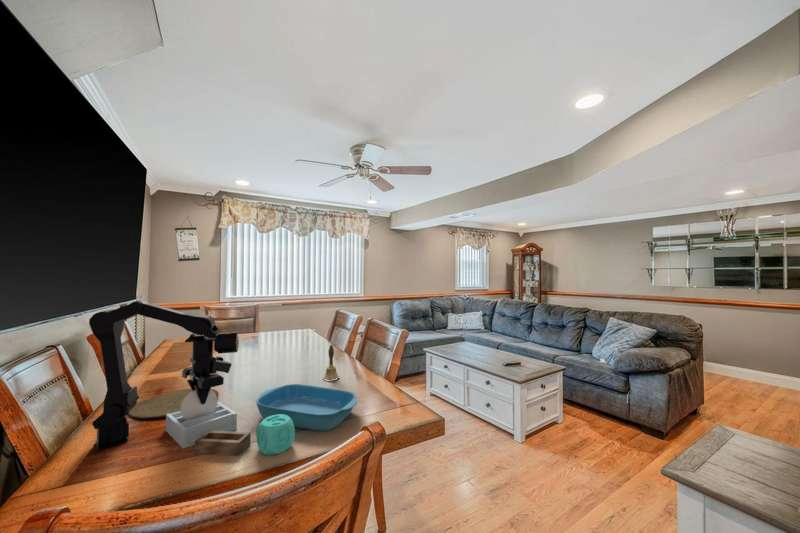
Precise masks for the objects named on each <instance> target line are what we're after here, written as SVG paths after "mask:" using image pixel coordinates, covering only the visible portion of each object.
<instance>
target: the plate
mask: <svg viewBox="0 0 800 533" xmlns="http://www.w3.org/2000/svg"><path fill="white" fill-rule="evenodd" d="M218 402H219V401H218V397H217V396H216V394H215V393H214V392H212V391H211V390H210V391H209V394H208V397H207V400H206V403H205V404H201V403H200V400H199V398H198V395H197V393H196V390H194V391H192V392H190V393H189V394H188V395H187V396H186V397H185V398H184V399H183V401H182V403H181V406H180V413H181V415H182V417H183V418H185V419H186V420H187V421H188V420H191V419H194V418H197V417H201V416H204V415H207V414H210V413H213V412H214V411H215V409H216V407H217V403H218Z"/></svg>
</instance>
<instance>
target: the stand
mask: <svg viewBox="0 0 800 533" xmlns="http://www.w3.org/2000/svg"><path fill="white" fill-rule="evenodd" d="M251 436H252V432H250V431H236V430H233V431H213V430H209V431H208V432H206V433H205V434H204V435H202V436H201V437H200V438H198V439H197V440H195V445H194V454H197V455H199V454H204V455H217V456H218V455H220V456H221V455H222V456H240V455H241V454H242V453H244V451H245V450H246V449H247V448H248V447H249V446H250V445H251V444H252V442H251V440H252V439H251V438H252V437H251Z"/></svg>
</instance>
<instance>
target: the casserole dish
mask: <svg viewBox="0 0 800 533" xmlns="http://www.w3.org/2000/svg"><path fill="white" fill-rule="evenodd" d="M356 398H357V394H356V393H354V392H353V391H349V390H345V389H337V388H330V387H325V386H324V387H323V386H318V385H317V386H316V385H315V386H314V385H309V384H299V383H292V384H290V383H289V384H283V385H282V386H278V387H274V388H270V389H267V390H264V391H263V392H261V393H260V395H259V397H258V398H257V399H256V400H255V403H256V406H257V409H258V412H259V414H260V415H261V417H262V418H263V420H264V419H265V418H267V417H269V416H272V415H278V414H283V415H287V416H289V417H290V418H291V419H292V421H293V424H294V427H295V428H301V429H306V430H312V431H320V432H321V431H322V432H324V431H330V430H333V429H334V428H336V427H337V426H338V425H340V424H341V423H342V422H343V421H344V420H345V419H346V418H348V416H349V415H350V414H351V412H352V411H353V408H355V406H357V404H358V400H357V399H356Z"/></svg>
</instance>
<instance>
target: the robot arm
mask: <svg viewBox="0 0 800 533" xmlns="http://www.w3.org/2000/svg"><path fill="white" fill-rule="evenodd" d="M137 315H139V316H141V317H142V316H143V317H146V318H151V319H154V320H158V321H160V322H161V321H162V322H165V323H169V324H173V325H176V326H179V327H181V328H183V329H184V330H186V331H188V332H189V333H191V334H190V336H189V337H188V338H187V339H185V340H184V342H185V343H192V353H191V354H192V355H191V357H190V358H189V362H190V363H191V366H187V367H185V368H184V369H183V370H182V372H181V376H182V378H184V379H187V378H188V376H189V379H188V380H187V381H186V382H187V384H188V385H189V387H190V389H192V391H194V390H196V393H197V395H198V398H199V400H200V403H201V404H205V403H206V400H207V397H208V394H209V391H210V389H212V388H215V387H218V386H222V385H224V381H225V380H224V376H222V375H220V374H218V373H217V372H220V373H221V372H222V373H225V374H230V373H229V372H230V371H231V370H230V369H231V367H232V365H233V363H231V362H229V361H226V360H224V358H223V357H222V356H216V357H215V356H214V352H216V353H217V354H233V353H238V352H239V347H240V345H239V344H240V341H239V336H238V331H231V332H222V331H221V330H220V329H219V327H218V326H216V321H215V319H214V317H213V316H211V315H208V314H201V313H200V314H199V313H187V312H182V311H179V310H176V309H173V308H170V307H169V308H168V307H166V306H161V305H158V304H154V303H152V302H148V301H146V300H141V299H140V300H136V301H132V302H130V303H129V304H127V305H126V304H125V305H123V306H121V307H118V308H116V309H107V310H104V311H98V312H95V313H94V314H93V315H92V316H91V317H90V318H89V319H88V324H89V327H90V329H91V332H92V334H93V336H94V337H95V339H97V341H98V343H99V344H100V351H101V357H102V363H103V369H104V370H103V371H104V375H105V381H106V382H105V383H106V389H107V390H106V393H105V395H104V396H105V397H104V400H103V409H102V413H101V414H100V415H99V416H98V417H97V418H95V420H93V421H92V422H91V424H92V426H93V429H94V430H96V440H95V441H94V442H95V446H96V449H97V450H98V451H102V450H104V449H107V448H111V447H115V446H117V445H121V444H123V443H127V442H128V441H129V435H130V423H129V421H128V420H127V417H126V416H129V414H128V413H129V411H130V410H132V409H133V408H134V406H135V405H137V404H138V400H139V399H140V397H139V395H138V386H131V385H130V384H129V382H128V377H127V372H126V365H125V363H126V362H125V357H124V350H123V345H122V335H123V331H124V329H125V321H126V320H129V319H130V318H134V317H135V316H137Z"/></svg>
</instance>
